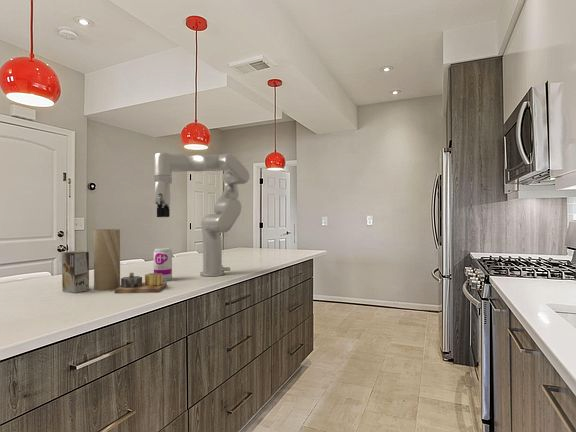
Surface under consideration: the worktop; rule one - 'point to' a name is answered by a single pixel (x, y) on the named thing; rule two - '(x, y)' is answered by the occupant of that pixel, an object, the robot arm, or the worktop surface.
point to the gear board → (137, 285)
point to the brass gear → (153, 279)
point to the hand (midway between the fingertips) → (163, 217)
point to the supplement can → (163, 263)
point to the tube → (106, 259)
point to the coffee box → (75, 271)
